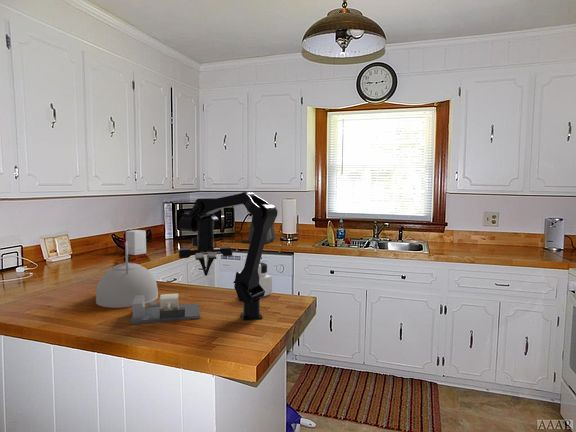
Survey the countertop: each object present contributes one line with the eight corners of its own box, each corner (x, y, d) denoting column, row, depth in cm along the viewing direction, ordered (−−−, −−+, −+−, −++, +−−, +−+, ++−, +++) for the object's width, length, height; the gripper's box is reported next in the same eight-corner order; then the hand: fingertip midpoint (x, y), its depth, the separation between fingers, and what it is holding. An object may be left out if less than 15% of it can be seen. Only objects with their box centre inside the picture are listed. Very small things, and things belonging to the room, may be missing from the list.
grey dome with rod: (98, 292, 161) (96, 238, 159) (155, 287, 169) (154, 236, 168) (93, 310, 138) (91, 248, 136) (160, 303, 146) (159, 244, 145)
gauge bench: (200, 318, 130) (200, 300, 130) (130, 324, 124) (129, 306, 124) (198, 305, 144) (198, 290, 143) (135, 310, 138) (134, 294, 137)
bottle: (266, 244, 291) (267, 204, 289) (247, 243, 297) (247, 204, 295) (276, 241, 308) (276, 203, 306) (257, 240, 314) (257, 203, 311)
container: (258, 290, 165) (258, 260, 164) (272, 294, 160) (272, 263, 159) (245, 294, 159) (245, 263, 158) (259, 298, 154) (259, 266, 153)
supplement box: (146, 253, 251) (146, 230, 250) (134, 255, 243) (134, 231, 242) (137, 252, 256) (137, 229, 254) (125, 254, 248) (125, 230, 247)
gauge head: (178, 316, 129) (178, 301, 128) (146, 318, 126) (146, 303, 126) (178, 307, 138) (178, 293, 138) (148, 309, 135) (148, 295, 135)
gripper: (228, 229, 150) (228, 269, 151) (178, 231, 145) (178, 272, 146) (232, 233, 140) (232, 275, 141) (178, 234, 134) (179, 279, 135)
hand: (205, 275), depth 141 cm, fingers closed
